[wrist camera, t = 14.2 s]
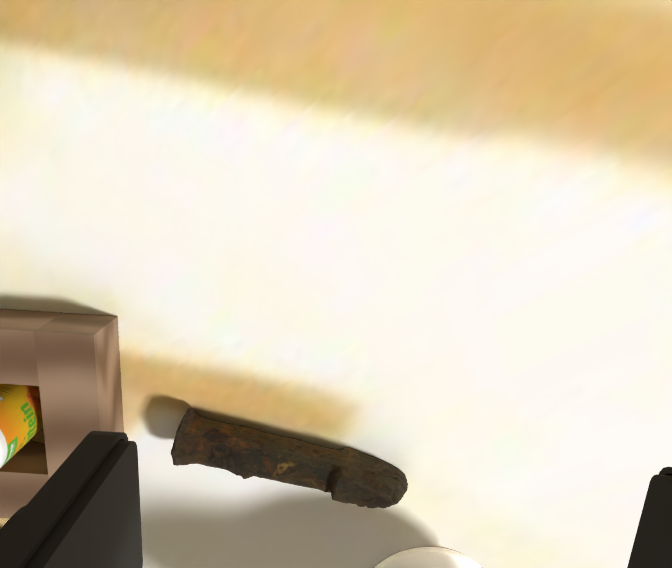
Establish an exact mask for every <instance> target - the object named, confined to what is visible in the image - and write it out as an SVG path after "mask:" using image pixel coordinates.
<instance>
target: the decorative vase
mask: <svg viewBox="0 0 672 568" xmlns="http://www.w3.org/2000/svg"><path fill="white" fill-rule="evenodd" d="M374 568H482V567H481V566H480V565H479V564H478V563H477V562H475V561H474V560H473V559H471V558H469V557H468V556H466V555H464V554H462V553H459V552H457V551H454V550H450V549H446V548H440V547H418V548H412V549H408V550H404V551H401V552H398V553H396V554H394V555H391V556H390V557H388V558H386V559H385V560H383V561H382V562H380V563H379V564H378V565H377V566H375V567H374Z"/></svg>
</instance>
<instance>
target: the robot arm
mask: <svg viewBox="0 0 672 568" xmlns="http://www.w3.org/2000/svg"><path fill="white" fill-rule="evenodd" d="M142 565H143V558H142V537H141V516H140V495H139V475H138V454H137V445H136V442H134V441H128V437H127V435H126V434H125V433H124V432H111V431H95V430H94V431H91V432H90V433H88V434H87V436H86V437H85V438H84V439H83V440H82V441H81V442H80V444H79V445H78V446H77V447H76V448H75V449H74V451H73V452H72V453H71V454H70V455H69V456H68V458H67V459H66V460H65V461H64V462H63V463H62V465H61V466H60V467H59V468H58V469H57V470H56V471H55V473H54V474H53V475H52V476H51V477H50V478H49V480H48V481H47V482H46V483H45V484H44V485H43V487H42V488H41V489H40V490H39V491H38V492H37V494H36V495H35V496H34V497H33V498H32V499H31V500H30V502H29V503H28V504H27V505H26V506H23V507H21V508H20V509H19V510H18V511H17V512H16V513H14V514H13V516H12V517H11V518H10V519H9V520H8V521H7V522H6V524H5V525H4V526H3V527H2V528H1V529H0V568H142ZM627 568H672V467H666V468H663V469H662V470H661V471H660V473H659V475H654V476H653V477H652V478H651V481H650V484H649V488H648V491H647V495H646V499H645V503H644V507H643V510H642V514H641V518H640V522H639V526H638V529H637V533H636V537H635V541H634V545H633V548H632V552H631V556H630V560H629V564H628V567H627Z"/></svg>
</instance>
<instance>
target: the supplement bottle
mask: <svg viewBox="0 0 672 568" xmlns="http://www.w3.org/2000/svg"><path fill="white" fill-rule="evenodd" d="M42 428H43V419H42V409H41V399H40V390H39V386H32V385H16V384H0V468H1V467H2V466H3V465H4V464H5V463H6V462H7V461H8V460H10V459H11V458H12V457H13V456H14V455H15V454H16V453H17V452H18V451H19V450H20V449H21V448H22V447H23V446H24V445H25V444H26V443H27V442H28V441H29V440H30V439H32V438H33V437H34V436H35V435H36V434H37V433H38V432H39V431H40V430H41V429H42Z"/></svg>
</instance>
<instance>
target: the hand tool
mask: <svg viewBox="0 0 672 568" xmlns="http://www.w3.org/2000/svg"><path fill="white" fill-rule="evenodd" d="M171 455H172V459H173V465H188V464H202V465H205V466H210V467H215V468H221V469H225V470H228V471H230V472H232V473H234V474H236V475H240V476H242V477H243V479H247V478H249V477H252V476H257V477H260V478H266V479H271V480H276V481H280V482H284V483H289V484H294V485H298V486H304V487H309V488H314V489H319V490H322V491H324V492H331V496H332V499H333V500H335V501H339V502H343V503H352V504H357V505H358V506H360V507H363V506H367V507H368V508H377V507H380V508H386V507H390V506H391V505H395V504H397V503H398V502H399V501H400V500H401V498H402V497H403V495H404V494H405V492H406V491H407V485H408V483H407V479H406V476H405V474H404V473H403V472H402V471H401V470H399V469H398V468H396V467H394V466H392V465H390V464H388V463H386V462H384V461H382V460H380V459H378V458H376V457H373V456H368V455H366V454H364V453H362V452H359V451H357V450H354V449H352V448H347V447H344V448H343V449H341V450H334V449H330V448H325V447H321V446H318V445H314V444H310V443H306V442H303V441H300V440H297V439H294V438H290V437H282V436H277V435H273V434H269V433H265V432H262V431H258V430H256V429H251V428H247V427H245V426H236V425H232V424H228V423H223V422H218V421H213V420H209V419H205V418H202V417H200V416H198V415H197V414H196V413H195V411H194V409H193V408H189V409H188V410H187V412H186V414H185V416H184V417H183V419H182V421H181V423H180V425H179V427H178V430H177V433H176V436H175V440H174V443H173V447H172V450H171Z"/></svg>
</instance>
